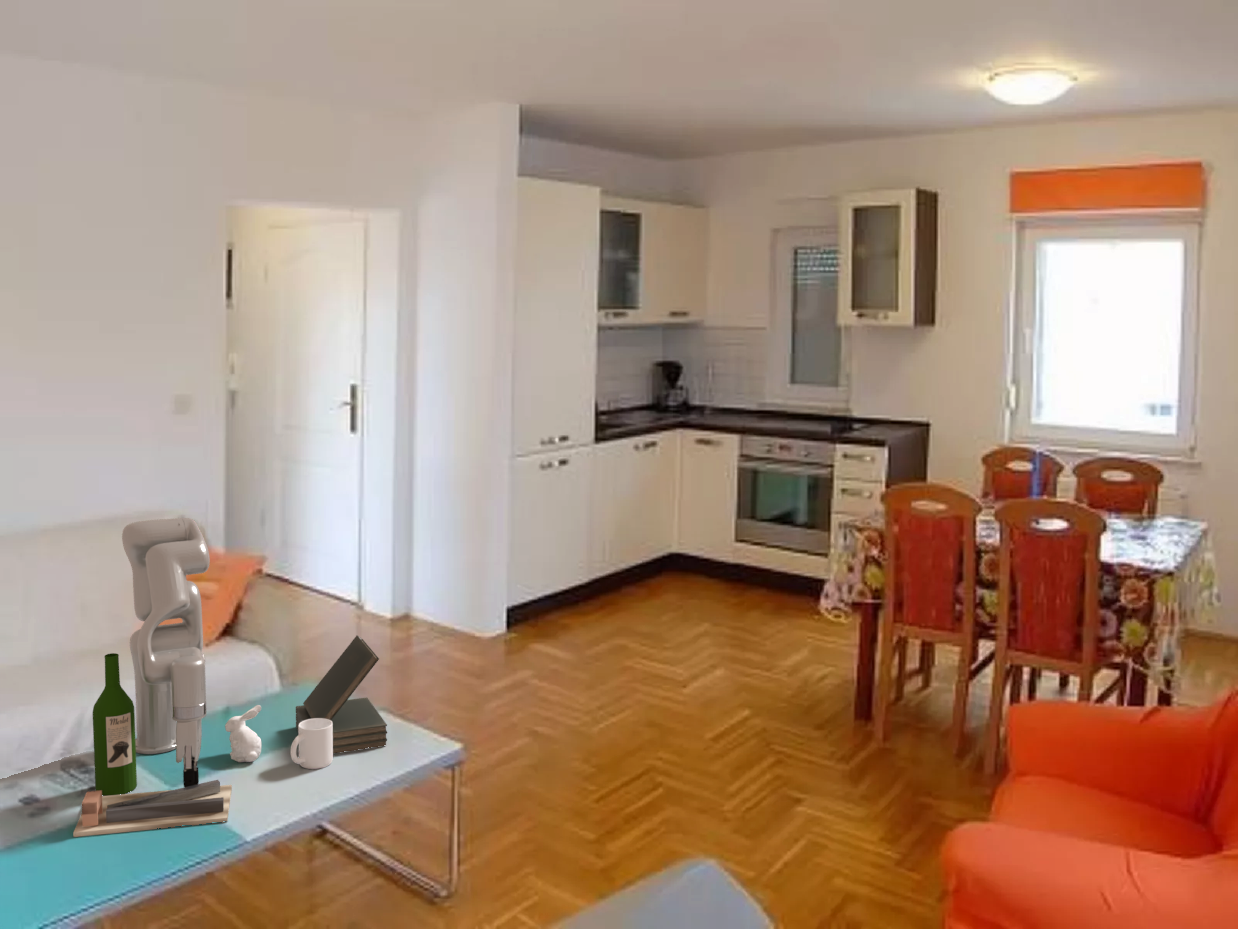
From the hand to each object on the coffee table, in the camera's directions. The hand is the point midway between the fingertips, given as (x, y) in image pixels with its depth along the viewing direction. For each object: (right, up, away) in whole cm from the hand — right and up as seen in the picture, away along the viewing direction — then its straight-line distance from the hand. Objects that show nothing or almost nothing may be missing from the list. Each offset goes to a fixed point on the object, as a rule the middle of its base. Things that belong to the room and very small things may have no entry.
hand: (191, 785), depth 258 cm
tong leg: (-2, -1, -9) cm, 9 cm away
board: (-4, -3, -10) cm, 11 cm away
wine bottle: (-18, -1, +1) cm, 18 cm away
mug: (+23, 0, +17) cm, 29 cm away
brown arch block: (-15, -2, -18) cm, 23 cm away
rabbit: (+5, +1, +22) cm, 23 cm away
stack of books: (+26, +2, +37) cm, 45 cm away
